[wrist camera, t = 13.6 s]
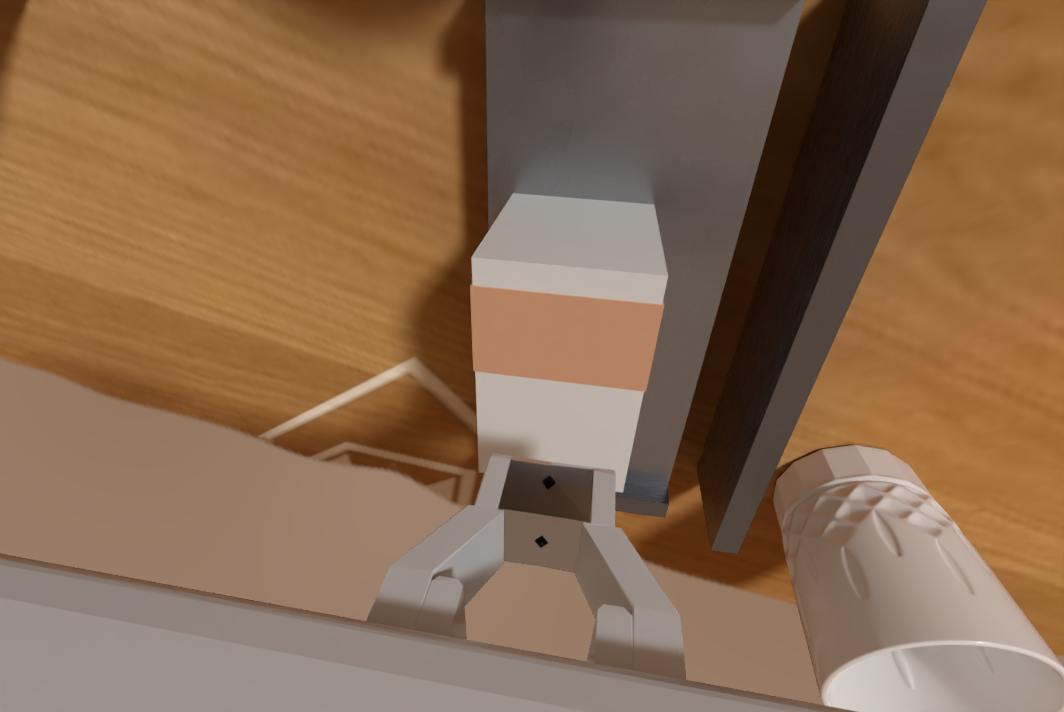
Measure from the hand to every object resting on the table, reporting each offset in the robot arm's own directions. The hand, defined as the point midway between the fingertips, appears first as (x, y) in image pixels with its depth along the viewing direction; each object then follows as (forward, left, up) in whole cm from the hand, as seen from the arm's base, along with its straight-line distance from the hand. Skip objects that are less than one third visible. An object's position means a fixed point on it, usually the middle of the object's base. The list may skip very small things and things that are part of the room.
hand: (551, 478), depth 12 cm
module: (0, 0, -9) cm, 9 cm away
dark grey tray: (+2, 0, -12) cm, 12 cm away
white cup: (+15, -11, -12) cm, 22 cm away
